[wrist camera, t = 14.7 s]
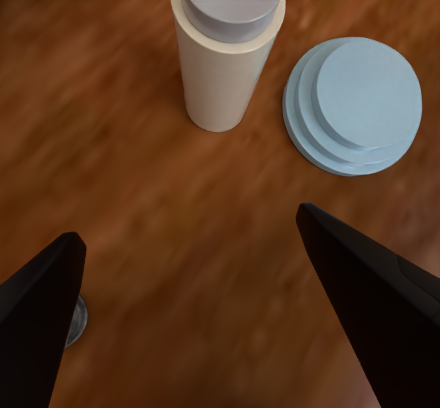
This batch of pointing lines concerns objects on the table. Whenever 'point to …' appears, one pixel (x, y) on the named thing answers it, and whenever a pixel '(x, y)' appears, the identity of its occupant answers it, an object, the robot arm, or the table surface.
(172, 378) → the table surface
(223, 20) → the sugar shaker
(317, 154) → the light blue stepped disc
